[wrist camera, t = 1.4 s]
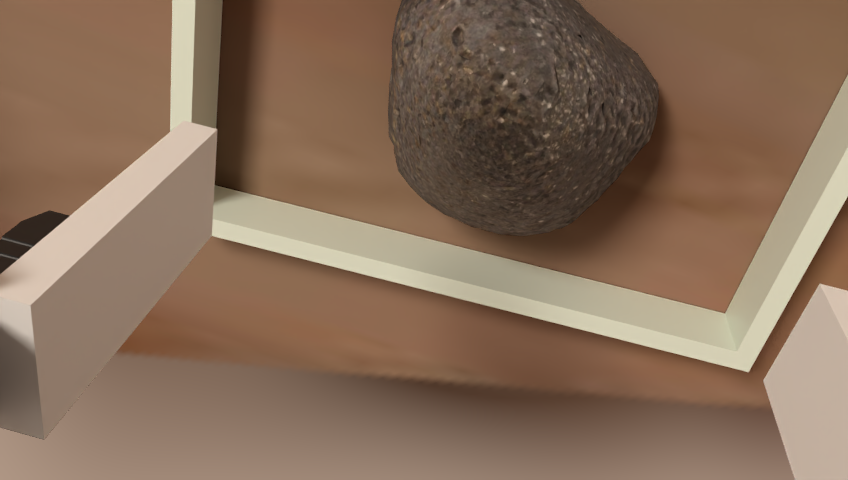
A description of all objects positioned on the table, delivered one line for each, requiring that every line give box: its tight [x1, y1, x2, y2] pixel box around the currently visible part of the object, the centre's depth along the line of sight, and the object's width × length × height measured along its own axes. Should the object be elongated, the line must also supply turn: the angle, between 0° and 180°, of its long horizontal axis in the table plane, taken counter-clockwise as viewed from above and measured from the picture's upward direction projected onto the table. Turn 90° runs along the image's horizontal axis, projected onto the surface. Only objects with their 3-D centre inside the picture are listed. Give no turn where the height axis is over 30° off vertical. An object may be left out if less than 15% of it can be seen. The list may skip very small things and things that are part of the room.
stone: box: [388, 0, 659, 236], centre depth 26 cm, size 10×8×10 cm
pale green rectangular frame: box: [170, 0, 848, 372], centre depth 26 cm, size 24×18×2 cm
